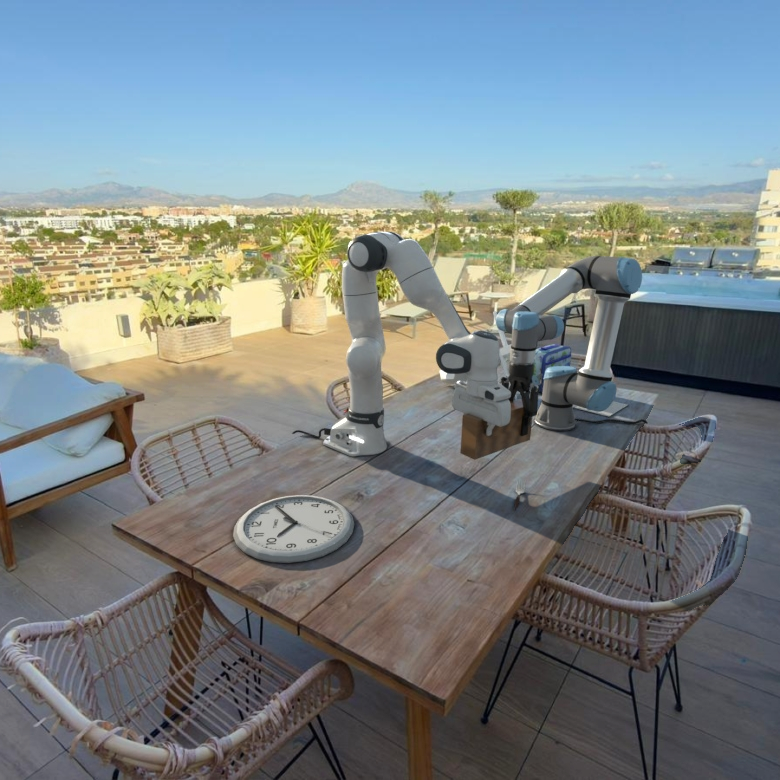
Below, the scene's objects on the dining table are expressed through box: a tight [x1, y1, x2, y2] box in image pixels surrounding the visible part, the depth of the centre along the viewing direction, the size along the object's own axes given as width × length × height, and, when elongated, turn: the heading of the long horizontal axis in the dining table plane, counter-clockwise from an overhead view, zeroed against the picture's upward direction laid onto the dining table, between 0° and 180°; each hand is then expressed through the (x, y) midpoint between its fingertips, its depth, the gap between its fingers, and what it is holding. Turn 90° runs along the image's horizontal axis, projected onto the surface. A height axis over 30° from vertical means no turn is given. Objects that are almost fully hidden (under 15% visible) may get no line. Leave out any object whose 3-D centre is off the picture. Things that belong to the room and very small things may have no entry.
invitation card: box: [573, 400, 629, 418], centre depth 226 cm, size 21×1×15 cm
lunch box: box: [529, 343, 572, 394], centre depth 247 cm, size 26×11×21 cm, turn 134°
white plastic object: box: [438, 310, 530, 400], centre depth 245 cm, size 37×45×31 cm
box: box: [459, 398, 533, 461], centre depth 163 cm, size 26×6×12 cm, turn 128°
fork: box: [514, 479, 527, 511], centre depth 147 cm, size 3×16×2 cm, turn 160°
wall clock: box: [232, 494, 355, 564], centre depth 132 cm, size 30×2×30 cm
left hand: (478, 431), depth 157 cm, fingers closed on box, 6 cm apart
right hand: (515, 431), depth 169 cm, fingers closed on box, 6 cm apart
